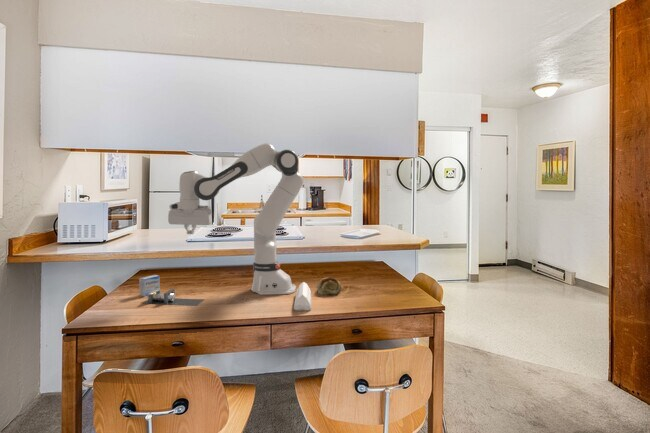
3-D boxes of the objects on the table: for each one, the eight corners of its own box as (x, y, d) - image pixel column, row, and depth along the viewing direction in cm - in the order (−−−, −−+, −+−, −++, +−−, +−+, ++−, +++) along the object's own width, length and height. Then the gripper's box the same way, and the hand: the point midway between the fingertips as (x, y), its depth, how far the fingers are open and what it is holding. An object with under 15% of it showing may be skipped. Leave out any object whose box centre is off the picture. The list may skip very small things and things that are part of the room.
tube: (174, 301, 163) (175, 293, 164) (170, 301, 160) (171, 293, 160) (151, 300, 164) (152, 292, 164) (147, 300, 160) (148, 292, 161)
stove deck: (204, 300, 164) (204, 289, 164) (196, 306, 156) (196, 295, 155) (152, 298, 166) (152, 287, 166) (141, 304, 158) (141, 293, 157)
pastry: (323, 297, 171) (323, 280, 170) (311, 290, 182) (311, 274, 181) (348, 293, 178) (348, 277, 177) (335, 286, 189) (336, 271, 188)
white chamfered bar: (315, 303, 151) (315, 286, 175) (300, 295, 150) (302, 279, 174) (306, 318, 151) (307, 299, 175) (291, 310, 151) (294, 292, 175)
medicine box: (145, 297, 168) (144, 279, 167) (139, 295, 170) (138, 277, 169) (160, 293, 174) (159, 275, 174) (154, 291, 177) (154, 274, 176)
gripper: (213, 205, 173) (214, 233, 174) (172, 204, 175) (173, 232, 176) (208, 206, 167) (208, 235, 168) (166, 205, 168) (166, 234, 170)
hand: (190, 234), depth 172 cm, fingers closed
